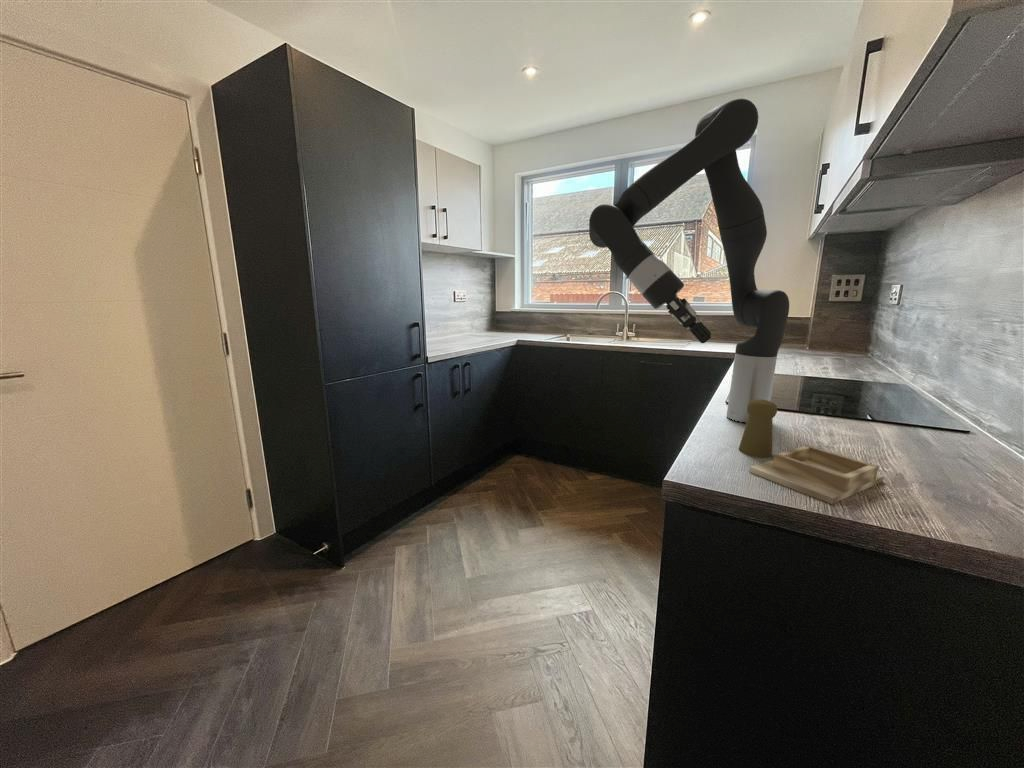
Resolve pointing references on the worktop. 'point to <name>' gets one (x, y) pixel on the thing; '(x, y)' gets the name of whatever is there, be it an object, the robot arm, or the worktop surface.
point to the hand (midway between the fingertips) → (707, 339)
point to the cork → (758, 429)
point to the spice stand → (819, 473)
